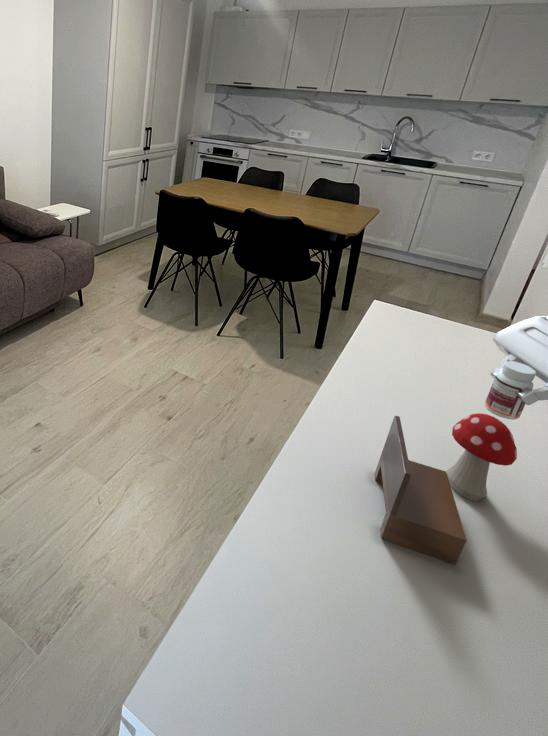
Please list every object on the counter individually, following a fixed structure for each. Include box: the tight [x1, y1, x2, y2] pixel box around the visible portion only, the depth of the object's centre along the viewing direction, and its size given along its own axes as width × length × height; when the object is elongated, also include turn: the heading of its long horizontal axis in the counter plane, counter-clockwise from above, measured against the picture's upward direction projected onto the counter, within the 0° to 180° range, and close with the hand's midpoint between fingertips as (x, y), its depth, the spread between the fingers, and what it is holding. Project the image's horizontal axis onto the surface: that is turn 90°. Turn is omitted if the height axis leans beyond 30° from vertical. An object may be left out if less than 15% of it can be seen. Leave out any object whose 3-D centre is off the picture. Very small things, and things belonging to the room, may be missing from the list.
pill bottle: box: [484, 361, 536, 421], centre depth 80 cm, size 5×5×8 cm
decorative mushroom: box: [446, 412, 518, 501], centre depth 87 cm, size 10×9×15 cm
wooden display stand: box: [374, 415, 468, 566], centre depth 80 cm, size 10×16×13 cm, turn 155°
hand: (507, 388), depth 80 cm, fingers closed on pill bottle, 5 cm apart
